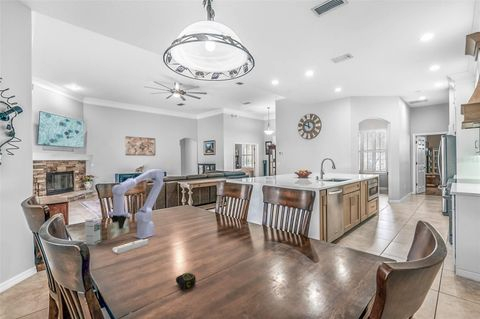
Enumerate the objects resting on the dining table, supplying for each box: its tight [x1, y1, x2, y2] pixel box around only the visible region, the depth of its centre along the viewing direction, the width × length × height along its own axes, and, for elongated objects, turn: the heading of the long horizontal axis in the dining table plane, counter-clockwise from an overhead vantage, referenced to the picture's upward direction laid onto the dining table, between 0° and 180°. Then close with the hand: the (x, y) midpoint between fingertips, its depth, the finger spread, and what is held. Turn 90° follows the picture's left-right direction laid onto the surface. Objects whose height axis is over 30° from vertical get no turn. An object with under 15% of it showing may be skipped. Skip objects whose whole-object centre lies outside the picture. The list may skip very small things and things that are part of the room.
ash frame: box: [106, 218, 130, 240], centre depth 139 cm, size 14×2×8 cm, turn 163°
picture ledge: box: [111, 238, 149, 255], centre depth 131 cm, size 17×7×4 cm, turn 143°
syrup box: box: [84, 216, 102, 246], centre depth 139 cm, size 6×6×14 cm
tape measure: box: [175, 272, 197, 291], centre depth 92 cm, size 7×7×4 cm
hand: (119, 228), depth 139 cm, fingers closed on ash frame, 3 cm apart
